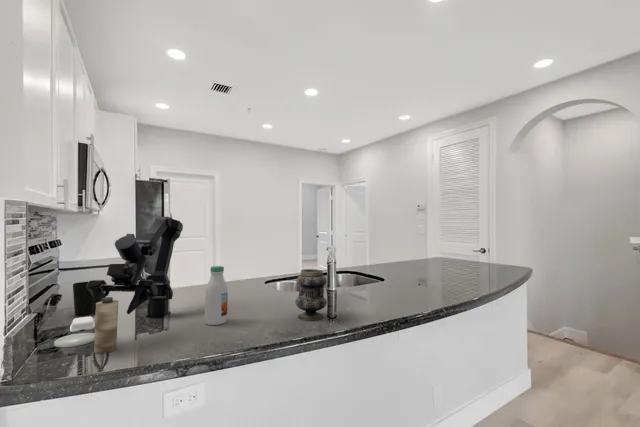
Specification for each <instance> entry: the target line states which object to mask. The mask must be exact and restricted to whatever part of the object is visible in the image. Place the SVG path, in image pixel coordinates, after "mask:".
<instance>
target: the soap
mask: <svg viewBox="0 0 640 427" xmlns="http://www.w3.org/2000/svg"><path fill="white" fill-rule="evenodd" d="M93 329H95V320H94V318H93V316H92V315H88V316H80V317H75V318H74V319H73V320H72V321H71V324H70V326H69V331H70V332H71V333H72V332H80V331H81V330H85V331H87V330H93Z"/></svg>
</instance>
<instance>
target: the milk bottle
mask: <svg viewBox="0 0 640 427" xmlns="http://www.w3.org/2000/svg"><path fill="white" fill-rule="evenodd" d="M224 269H225V267H224V266H222V265H216V266H215V265H213V266H211V267H210V268H209V270H210V278H209V280H208V281H207V285H206V287H205V293H204V294H205V298H204V323H205V325H209V326H216V325H217V326H218V325H223V324H225V323H227V322H228V296H229V294H228V285H227V283H226V280H225V277H224V271H225V270H224Z"/></svg>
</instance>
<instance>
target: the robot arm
mask: <svg viewBox="0 0 640 427" xmlns="http://www.w3.org/2000/svg"><path fill="white" fill-rule="evenodd" d="M183 228H184V224H183V223H182V222H181V221H180V220H177V219H174V218H172V217H169V216H157V217H156V218H155V220H154V222H153V223H152V225H151V226H150V227H149V228H147V231H146V232H145V233H144V234H142V235H138V236H135V234H134V233H126V234H125V235H124V236H122V237H120V238H118V239H117V240H115V242H114V247H115V248H116V250H117V252H118V254H119V256H120V258H121V259H122V260H123V261H125V263H110V264H109V265H108V269H107V271H106V276H109V277H111V278H110V280H111V281H112V283H114V284H111V283H109V284H107V282H106V280H105V279H91V280H89V281H87V282H88V284H87V286H86V288H87V290H88V291H89V292H90V294H91V295H92V296H93V297H94V305H93V314H92V315H95V316H96V303H98V302H101V301H102V298H106V297H109V294H110V292H123V293H127V292H128V293H130V292H131V293H133V292H134V294H133V297H132V299H131V300H130V303H129V305H128V307H127V310H126V314H127V315H131V313H132V312H133V311H135V310H136V309H137V308H138V307H139V306H141V305H142V304H144V303H145V302H147V301H148V303H147V310H146V311H147V314H146V315H145V317H146V318H164V317H166V316H168V315H169V314H170V313H171V311H169V306H170V304H169V302H170V300H172V299H173V296H174V291H173V289H172V287H171V281H170V279H169V277H168V272H169V267H170V263H171V258H172V254H173V250H174V247H175V242H177V240H178V239H179V238H180V237H181V234H182V232H183ZM160 238H161V240H160ZM159 240H160V241H161V242H160V246H159V250H158V253H157V258H156V263H155V267H154V271H153V272H152V274H148V275H147V277H146V279H143V277H142V273H143V271H144V269H145V268H148V267H149V264H148V258H147V257H148V256H149V257H151V256H154V254H155V253H156V252H157V249H158V241H159Z"/></svg>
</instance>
